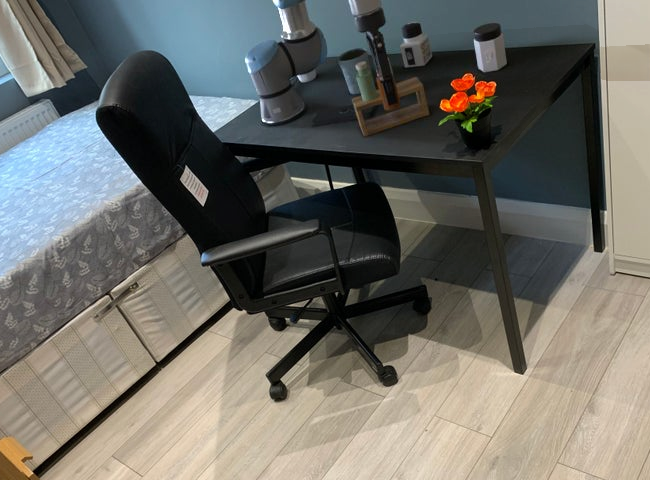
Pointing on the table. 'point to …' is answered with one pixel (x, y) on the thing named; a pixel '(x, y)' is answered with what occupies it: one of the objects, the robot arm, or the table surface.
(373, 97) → the sage bottle
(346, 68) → the blue-grey plant pot
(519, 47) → the table surface
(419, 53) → the container
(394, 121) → the wooden frame
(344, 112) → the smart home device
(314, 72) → the coffee cup
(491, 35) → the jar
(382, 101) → the amber bottle
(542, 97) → the table surface
